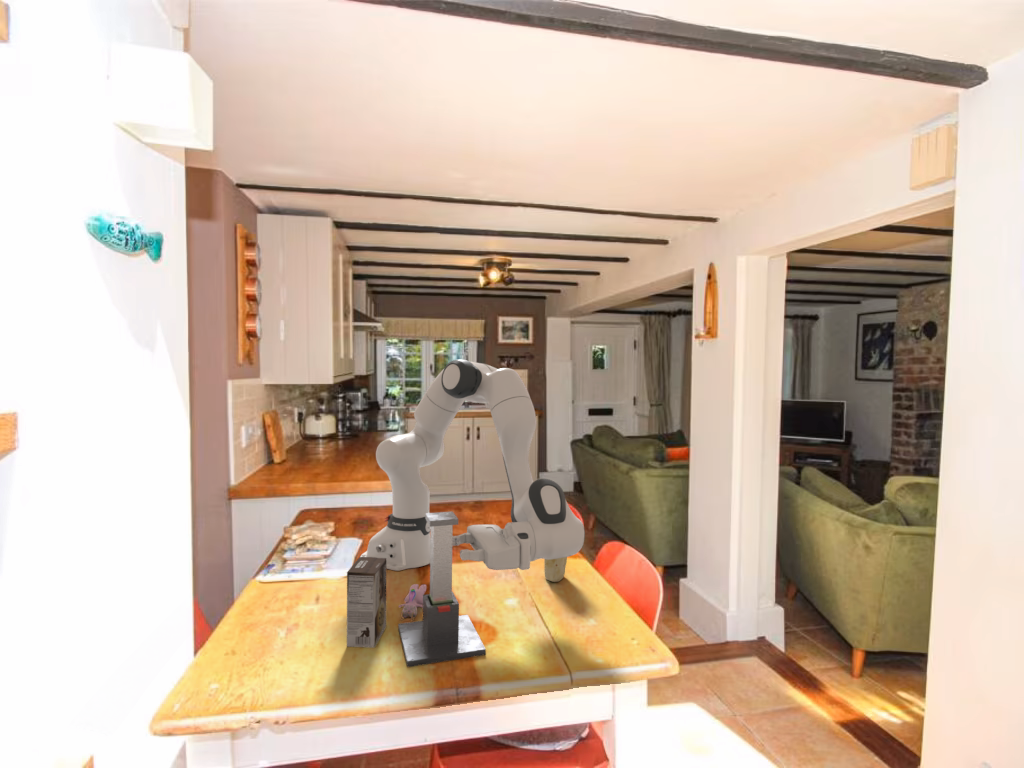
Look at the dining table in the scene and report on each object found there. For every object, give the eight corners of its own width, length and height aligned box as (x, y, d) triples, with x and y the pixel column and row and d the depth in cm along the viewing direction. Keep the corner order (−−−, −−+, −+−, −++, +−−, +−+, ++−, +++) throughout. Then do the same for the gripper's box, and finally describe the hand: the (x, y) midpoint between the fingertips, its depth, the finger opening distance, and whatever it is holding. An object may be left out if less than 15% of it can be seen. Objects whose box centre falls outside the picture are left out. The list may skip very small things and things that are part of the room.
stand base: (407, 667, 105) (407, 621, 105) (398, 629, 120) (398, 588, 120) (485, 654, 110) (486, 610, 110) (467, 619, 125) (468, 580, 125)
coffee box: (358, 626, 121) (359, 556, 121) (387, 627, 121) (387, 556, 121) (345, 647, 112) (345, 571, 112) (375, 648, 112) (376, 572, 111)
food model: (565, 586, 146) (567, 513, 145) (541, 584, 147) (542, 511, 146) (568, 572, 155) (569, 504, 155) (545, 570, 156) (546, 503, 156)
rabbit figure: (420, 627, 124) (432, 591, 139) (419, 604, 123) (432, 570, 137) (393, 626, 124) (409, 590, 139) (392, 603, 123) (408, 569, 138)
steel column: (428, 621, 111) (430, 520, 111) (424, 609, 117) (425, 513, 116) (457, 617, 113) (458, 518, 112) (451, 605, 119) (452, 511, 118)
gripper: (502, 516, 130) (446, 520, 125) (531, 542, 110) (466, 548, 106) (502, 541, 130) (446, 546, 125) (531, 572, 110) (466, 579, 106)
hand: (455, 547), depth 115 cm, fingers open, 8 cm apart
